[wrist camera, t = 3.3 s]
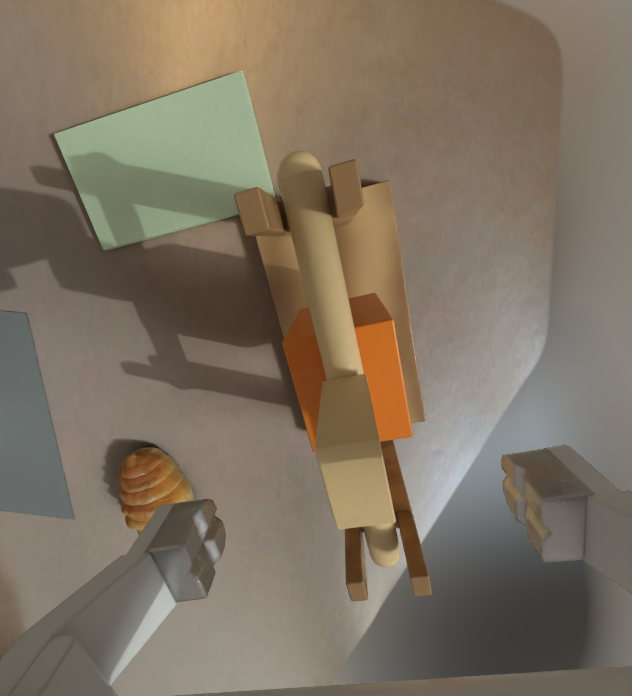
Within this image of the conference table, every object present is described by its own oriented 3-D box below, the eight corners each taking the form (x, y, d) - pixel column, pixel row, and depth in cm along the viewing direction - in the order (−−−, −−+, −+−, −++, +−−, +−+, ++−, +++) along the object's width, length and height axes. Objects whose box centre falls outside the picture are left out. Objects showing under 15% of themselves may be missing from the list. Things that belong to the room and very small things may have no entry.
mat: (245, 75, 21) (241, 69, 20) (277, 204, 23) (275, 203, 23) (62, 136, 23) (53, 133, 22) (109, 249, 25) (103, 250, 25)
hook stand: (387, 182, 22) (477, 81, 8) (422, 414, 28) (511, 603, 14) (253, 218, 24) (119, 189, 9) (313, 432, 30) (287, 621, 15)
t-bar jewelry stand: (355, 174, 18) (389, 40, 6) (405, 457, 24) (474, 688, 12) (271, 197, 19) (142, 122, 6) (340, 467, 25) (341, 694, 12)
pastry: (115, 447, 32) (86, 473, 28) (177, 438, 31) (156, 464, 27) (148, 518, 35) (126, 551, 31) (206, 512, 34) (190, 545, 30)
